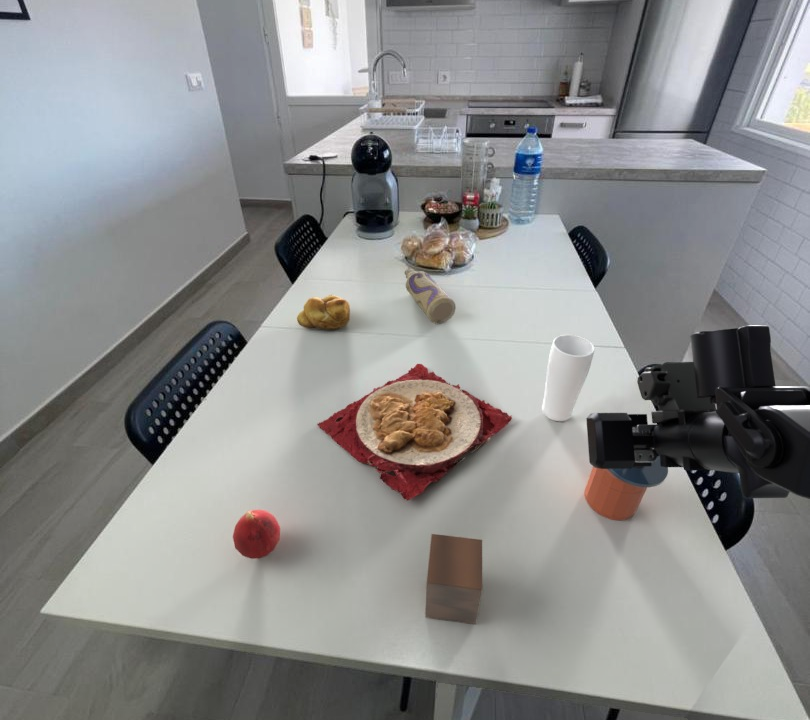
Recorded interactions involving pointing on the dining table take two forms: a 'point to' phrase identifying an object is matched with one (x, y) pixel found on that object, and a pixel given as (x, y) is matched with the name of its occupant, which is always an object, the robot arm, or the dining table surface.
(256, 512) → the onion
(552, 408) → the drinking glass
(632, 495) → the orange cylindrical container
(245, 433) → the dining table surface
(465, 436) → the plate with food
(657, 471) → the lid
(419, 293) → the decorative bottle
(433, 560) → the block
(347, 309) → the bread roll
